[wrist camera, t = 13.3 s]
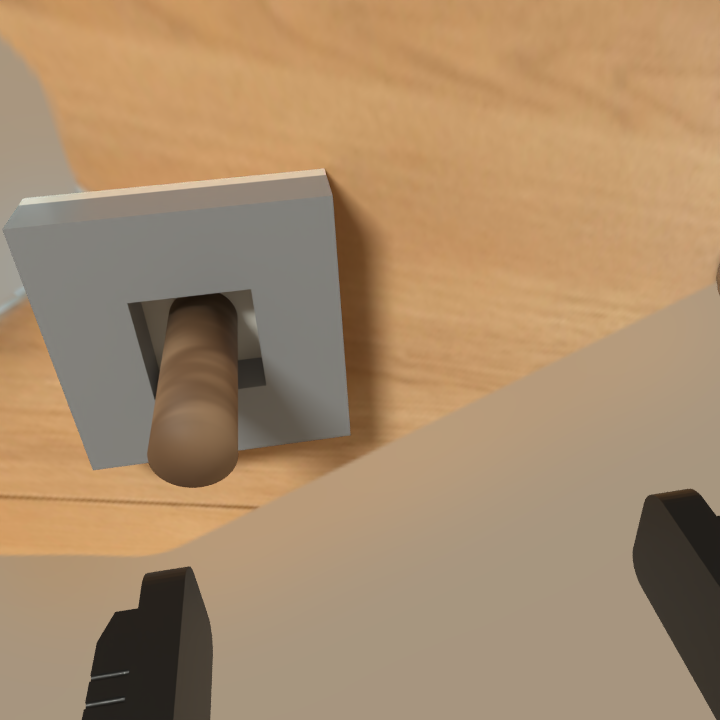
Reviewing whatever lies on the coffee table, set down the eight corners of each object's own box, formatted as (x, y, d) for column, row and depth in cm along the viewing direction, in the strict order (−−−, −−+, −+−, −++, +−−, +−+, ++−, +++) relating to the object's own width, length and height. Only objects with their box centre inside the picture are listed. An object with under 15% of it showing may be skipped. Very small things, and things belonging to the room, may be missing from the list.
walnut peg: (232, 285, 40) (230, 415, 30) (242, 342, 42) (243, 481, 32) (161, 292, 39) (137, 428, 30) (176, 350, 42) (158, 493, 32)
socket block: (324, 168, 38) (332, 195, 34) (342, 397, 47) (350, 435, 44) (23, 198, 36) (2, 229, 33) (103, 428, 45) (93, 470, 42)
